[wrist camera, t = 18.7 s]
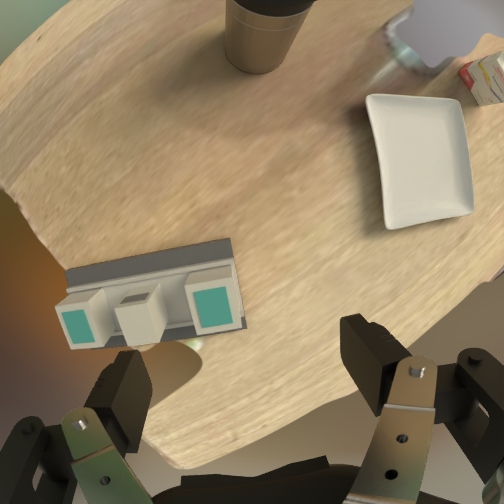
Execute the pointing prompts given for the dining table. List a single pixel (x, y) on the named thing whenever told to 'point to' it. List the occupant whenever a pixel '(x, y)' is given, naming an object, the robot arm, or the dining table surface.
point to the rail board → (173, 289)
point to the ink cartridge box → (485, 78)
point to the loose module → (142, 315)
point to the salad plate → (421, 158)
